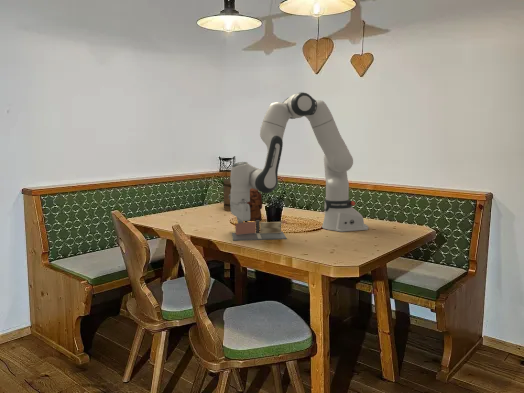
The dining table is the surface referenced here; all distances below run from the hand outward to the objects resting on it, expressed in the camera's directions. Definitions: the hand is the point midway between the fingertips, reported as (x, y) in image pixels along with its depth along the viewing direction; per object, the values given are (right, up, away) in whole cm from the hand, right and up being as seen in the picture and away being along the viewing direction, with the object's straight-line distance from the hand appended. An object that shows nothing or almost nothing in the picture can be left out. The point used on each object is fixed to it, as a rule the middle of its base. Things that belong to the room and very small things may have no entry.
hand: (240, 227), depth 221 cm
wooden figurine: (+5, +1, +33) cm, 33 cm away
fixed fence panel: (+13, -3, +3) cm, 14 cm away
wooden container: (-5, +6, +66) cm, 66 cm away
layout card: (+9, -4, -2) cm, 10 cm away
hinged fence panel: (+2, -3, 0) cm, 4 cm away
